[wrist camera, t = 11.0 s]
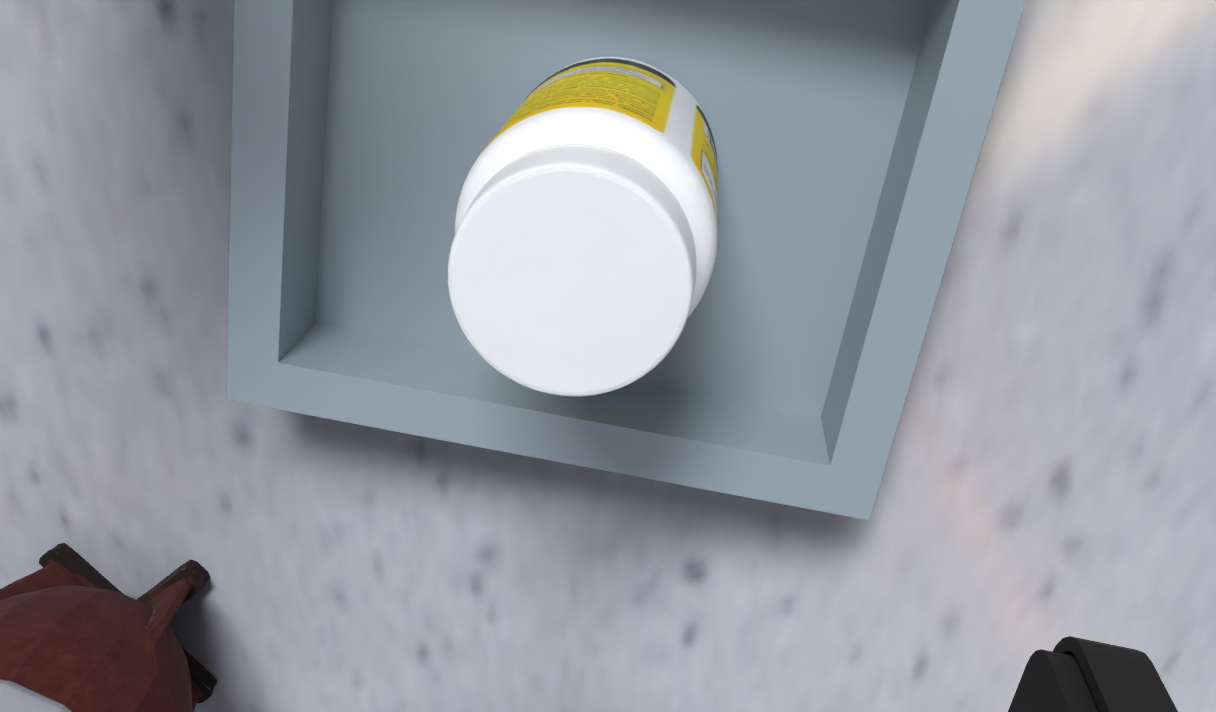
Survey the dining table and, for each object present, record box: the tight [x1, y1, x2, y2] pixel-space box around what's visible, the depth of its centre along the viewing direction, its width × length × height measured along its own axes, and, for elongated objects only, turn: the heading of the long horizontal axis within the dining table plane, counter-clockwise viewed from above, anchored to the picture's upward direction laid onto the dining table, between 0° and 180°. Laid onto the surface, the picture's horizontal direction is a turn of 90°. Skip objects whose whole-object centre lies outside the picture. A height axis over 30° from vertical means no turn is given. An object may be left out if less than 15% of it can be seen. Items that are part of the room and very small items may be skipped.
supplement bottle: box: [448, 57, 718, 397], centre depth 21 cm, size 5×5×8 cm
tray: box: [226, 0, 1026, 520], centre depth 24 cm, size 15×13×3 cm
